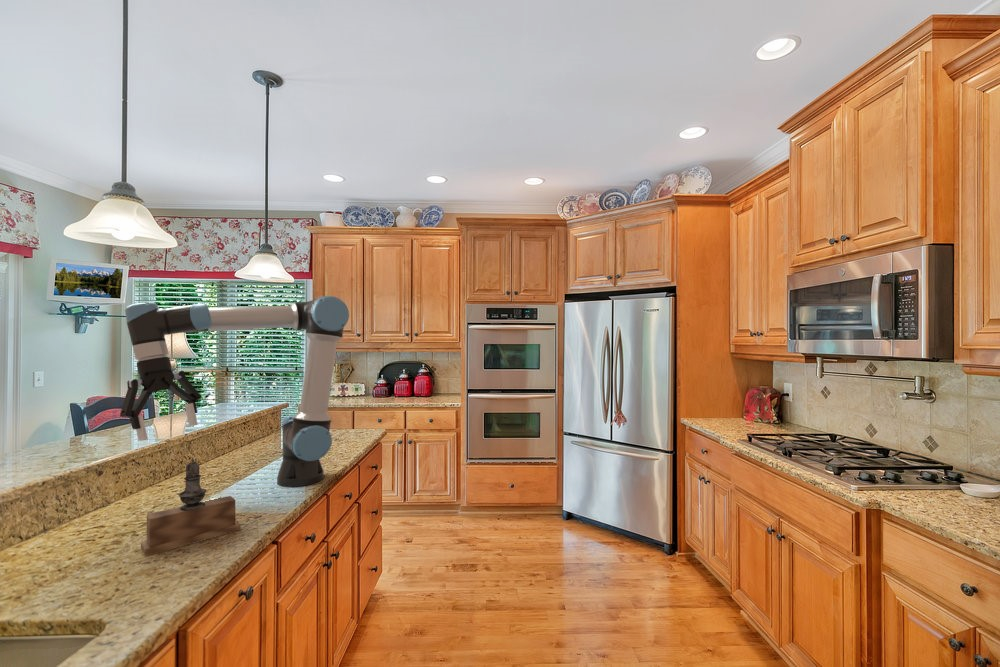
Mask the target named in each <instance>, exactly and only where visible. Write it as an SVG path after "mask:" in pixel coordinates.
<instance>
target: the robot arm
mask: <svg viewBox="0 0 1000 667" xmlns="http://www.w3.org/2000/svg"><path fill="white" fill-rule="evenodd" d="M124 312H125V318H126V320H125V321H126V325H127V329H128V334H129V337H130V342H131V344H132V349H133V354H134V358H135V360H136V361H137V362H136V368H137V371H138V375H139V379H136V378H135V379H134V378H133V379H130V380H127V382H126V384H127V391H126V394H125V397H124V401H123V404H122V407H121V410H120V413H119V417H121V418H127V419H129V420H130V425H131V429H132V430H135V432H136V436H137V439H138V442H142V441H143V442H144V441H147V440H149V439H148V434H147V430H146V425H145V421H144V420H145V419H144V416H143V415H140V414H141V412H142V410H143V408H144V407H145V405H146V404H147V401H148V400H149V399H150V396H151V395H152V394H153V393H157V392H161V391H166V390H167V391H170V392H172V394H174V395H176V396H177V397H179V398H180V399H181V400H183V401H184V402H185V404H184V408H185V413H186V417H187V422H188V425H189V427H193V426H198V425H199V424H198V420H197V416H196V414H197V413H198V408H197V405H196V404H197V402H198V400H201V398H202V395H201V393H199V391H198V390H197V389H196V387H194V385H193V384H192V383H191V382H190V381H189V379H188V378H187V376H186V374H185V373H186V372H185V371H184V370H179V371H176V372H173V371H172V368H173V367H172V364H171V359H170V357H169V356H168V355H169V349H168V346H167V341H166V338H165V336H169V335H174V334H182V333H184V334H185V333H187V334H189V333H196V332H197V333H199V332H217V331H218V332H219V331H237V330H240V331H241V330H244V331H245V330H260V329H261V330H263V329H264V330H265V329H284V328H292V329H293V330H295V331H300V330H301V331H305V335H306V337H308V339H309V344H308V348H307V349H308V352H307V358H306V363H305V364H306V365H305V371H304V379H303V385H302V392H301V398H300V405H299V411H298V412H297V413H296V414H294V415H290V416H285V417H284V418H283V419H282V425H281V427H282V461H281V464H280V468H279V470H278V473H277V476H276V480H277V481H276V484H277V485H279V486H281V487H289V488H290V487H292V488H293V487H294V488H295V487H304V486H309V485H312V484H315V483H316V484H317V483H318V482H320V481H322V480H323V479H324V475H325V474H324V469H323V466H322V463H321V461H320V460H321V459H322V458H323V457H324V456H325V455H327V454H328V453H329V451H330V449H331V447H332V443H333V438H332V434H331V432H330V429H331V422H332V418H331V416H330V415H329V414H328V408H329V401H330V395H331V387H332V380H333V372H334V365H335V359H336V358H335V357H336V351H337V344H338V342H340V341H341V340H343V334H344V328H345V327H346V325H347V323H348V321H349V318H350V312H349V308H348V306H347V304H346V303H345V302H344V301H343V300H342V299H340V298H339V297H336V296H333V295H332V296H331V295H323V296H320V297H318V298H315V299H312V300H308V301H304V302H293V303H292V304H291V305H271V306H270V305H268V306H235V307H234V306H232V307H230V306H228V307H209V306H208V305H207V304H206V303H201V304H200V303H199V304H198V303H197V304H195V303H194V304H190V305H182V306H175V307H169V308H167V307H166V308H160V307H159V306H158V304H157V303H156V302H139V303H133V304H128V305H127V306H126V307H125V310H124ZM174 380H177V382H178V383H176V382H174ZM178 384H180V386H181V387H180V386H179V385H178ZM140 385H141V386H142V387H143V388H142V389H141V392H140V394H139V396H138V398H137V399H136V397H137V394H138V391H139V387H140ZM135 400H136V402H135Z"/></svg>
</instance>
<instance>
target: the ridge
mask: <svg viewBox="0 0 1000 667" xmlns="http://www.w3.org/2000/svg"><path fill="white" fill-rule="evenodd" d="M204 501H205V500H204ZM202 502H203V501H202ZM203 503H205V506H203V507H201V508H199V509H195V510H189V511H183V510H180V508H181V507H182V506H178V507H177V506H176V507H173V508H170V509H169V508H168V509H165V510H160V511H156V512H151V513H147V514H146V540H142V541H140V548H141V549H140V550H141V551H142V553H143V555H144V557H147V556H150V555H154V554H158V553H162V552H165V550H166V551H168V550H169V549H170V550H173V549H176V547H177V548H180V546H181V547H183V545H184V546H187V544H188V545H191V544H190V543H192V544H194V543H193V542H195V543H198V542H197V541H199V542H202V541H201V540H203V541H205V540H204V539H206V540H209V539H208V538H210V539H212V538H211V537H214V538H216V537H215V536H217V537H219V536H218V535H221V536H223V535H222V534H225V535H228V534H227V533H229V534H231V533H230V532H232V533H235V532H234V531H236V532H238V531H237V530H240V531H241V523H240V522H239V521H237V520H236V499H235V498H234V497H233V496H232V495H228V496H223V497H220V498H218V499H214V500H209V501H205V502H203ZM172 548H173V549H172Z"/></svg>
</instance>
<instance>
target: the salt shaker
mask: <svg viewBox="0 0 1000 667" xmlns="http://www.w3.org/2000/svg"><path fill="white" fill-rule="evenodd" d="M201 477H202V475H201V474H200V464H199V462H197V461H195V459H194V458H192V459H191V462H190V463H189V462H188V463H187V464H186V466H185V477H184V478H183V480H185V487H184V490H183V491H182V492H179V494H178V497H179V499H180V501H181V503H183V505H182V506H180V507H181V508H180V510H183V511H189V510H195V509H199V508H201V507H203V506H205V503H203V499H204V498H205V496H206V492H207V489H206V488H202V486H201V483H200V482H201Z"/></svg>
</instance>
